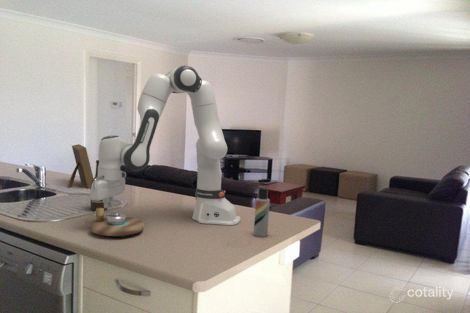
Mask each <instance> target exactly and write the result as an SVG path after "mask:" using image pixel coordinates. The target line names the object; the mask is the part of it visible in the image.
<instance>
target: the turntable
mask: <svg viewBox="0 0 470 313" xmlns="http://www.w3.org/2000/svg"><path fill="white" fill-rule="evenodd" d="M144 226H145V224H144V221H143V220H141V219H140V218H136V217H131V216H125V224H123V225H118V226H112V225H108V224H107V217H105V211H104V208H96V212H95V220H93V221H92V222H91V223H90V231H91V232H92V233H93V234H96V235H100V236H102V235H106V236H123V235H130V234H132V235H135V234H137V233H140V232H142V231H143V230H144ZM106 236H105V237H106ZM130 236H131V235H130Z"/></svg>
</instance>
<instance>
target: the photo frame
mask: <svg viewBox="0 0 470 313" xmlns="http://www.w3.org/2000/svg"><path fill="white" fill-rule="evenodd" d="M71 148H72V152H73V156H74V161H75V164H76V165H75V167H74V169H73V172H72V174H71V175H70V176H71V177H69V181H68V185H67V188H68V189H69V188H71V187H73V184H74V181H75V178H76V175H77V172H78V175H79V179H80V183H81V184H82V185H84V187H86V188H87V189H91V183H92V180H93V179H94V176H93V172H92V171H93V170H92V167H91V163H90V158H89V155H88V154H89V153H88V151H87V148H86V146H84V145H81V144H80V143H78V144H74V145H71Z"/></svg>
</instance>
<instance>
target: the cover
mask: <svg viewBox="0 0 470 313" xmlns="http://www.w3.org/2000/svg"><path fill="white" fill-rule="evenodd" d="M125 217H126V214H124V213H121V212H119V211H118V212H117V211H116V212H112V213H110V214H107V215H106V218H107V224H108V225H112V226H118V225H123V224H125Z"/></svg>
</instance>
